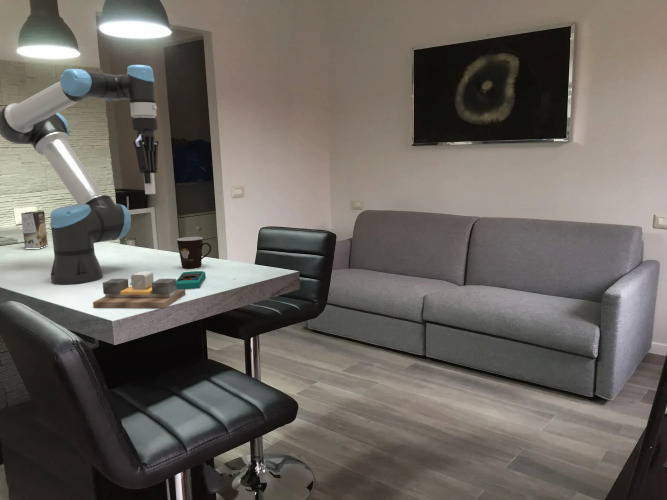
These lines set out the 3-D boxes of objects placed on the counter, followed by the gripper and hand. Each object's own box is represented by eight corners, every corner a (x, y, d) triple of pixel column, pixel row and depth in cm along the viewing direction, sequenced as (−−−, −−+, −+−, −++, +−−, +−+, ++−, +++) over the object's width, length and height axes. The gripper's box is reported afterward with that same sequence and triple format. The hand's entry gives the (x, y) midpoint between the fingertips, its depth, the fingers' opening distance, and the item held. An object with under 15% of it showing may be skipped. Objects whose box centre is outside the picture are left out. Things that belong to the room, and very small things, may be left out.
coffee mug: (174, 267, 191) (171, 239, 190) (195, 263, 197) (193, 236, 196) (192, 272, 183) (190, 242, 182) (214, 267, 190) (212, 238, 188)
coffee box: (40, 249, 240) (35, 212, 237) (24, 250, 239) (20, 213, 237) (48, 246, 249) (44, 210, 246) (33, 246, 248) (29, 211, 246)
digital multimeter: (173, 291, 159) (172, 281, 158) (182, 280, 173) (181, 271, 173) (199, 290, 159) (198, 280, 159) (206, 279, 174) (205, 270, 173)
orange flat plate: (120, 294, 144) (119, 291, 144) (131, 289, 150) (130, 286, 150) (150, 294, 143) (149, 291, 143) (159, 289, 149) (159, 286, 149)
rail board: (93, 307, 141) (91, 286, 140) (120, 294, 155) (118, 275, 154) (164, 308, 139) (162, 287, 138) (185, 294, 153) (184, 275, 152)
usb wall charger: (153, 285, 150) (152, 271, 149) (141, 292, 143) (140, 277, 142) (140, 285, 150) (138, 271, 150) (126, 291, 143) (125, 276, 143)
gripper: (146, 115, 164) (152, 195, 168) (164, 118, 177) (170, 192, 181) (122, 116, 165) (129, 195, 169) (142, 119, 178) (148, 192, 182)
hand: (150, 193), depth 175 cm, fingers closed
